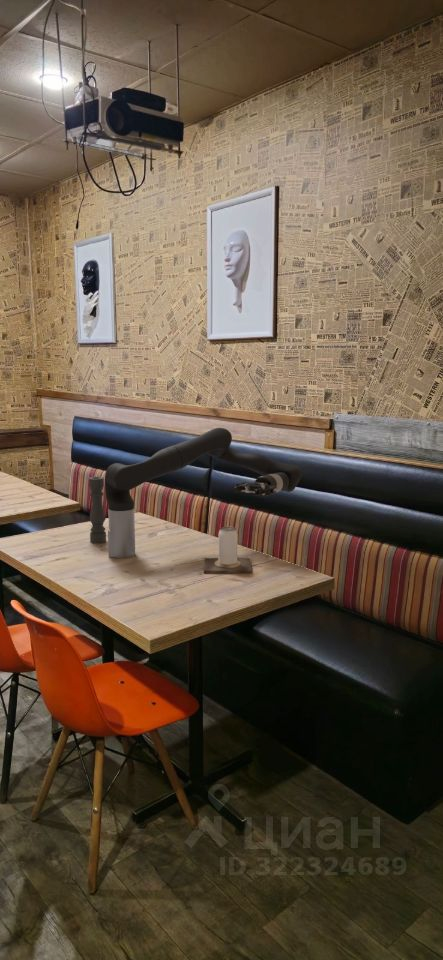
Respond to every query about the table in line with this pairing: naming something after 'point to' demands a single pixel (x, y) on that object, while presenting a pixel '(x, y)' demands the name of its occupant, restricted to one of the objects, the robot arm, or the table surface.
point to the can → (227, 546)
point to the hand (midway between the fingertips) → (245, 491)
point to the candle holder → (97, 510)
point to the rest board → (227, 566)
